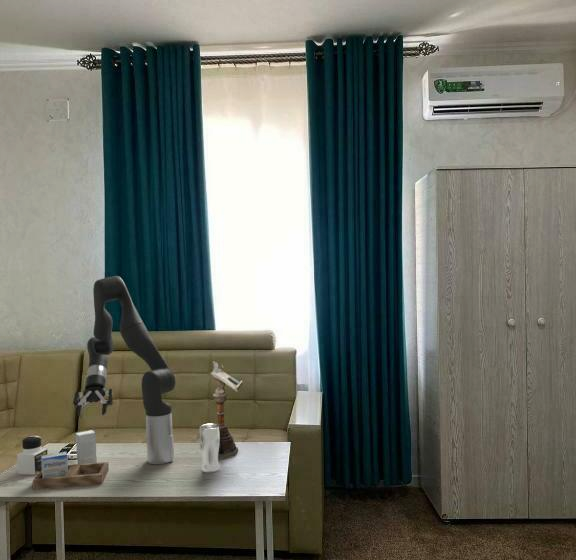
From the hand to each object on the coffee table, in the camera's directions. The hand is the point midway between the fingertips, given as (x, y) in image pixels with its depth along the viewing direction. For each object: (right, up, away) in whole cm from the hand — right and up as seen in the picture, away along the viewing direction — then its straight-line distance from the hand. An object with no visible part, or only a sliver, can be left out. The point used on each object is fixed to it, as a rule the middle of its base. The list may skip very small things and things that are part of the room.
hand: (91, 414), depth 208 cm
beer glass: (+48, -14, -19) cm, 53 cm away
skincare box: (+2, -16, -11) cm, 19 cm away
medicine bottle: (-15, -17, -14) cm, 27 cm away
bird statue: (+52, -14, -2) cm, 54 cm away
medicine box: (-3, -16, -25) cm, 30 cm away
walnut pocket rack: (+2, -16, -24) cm, 29 cm away
